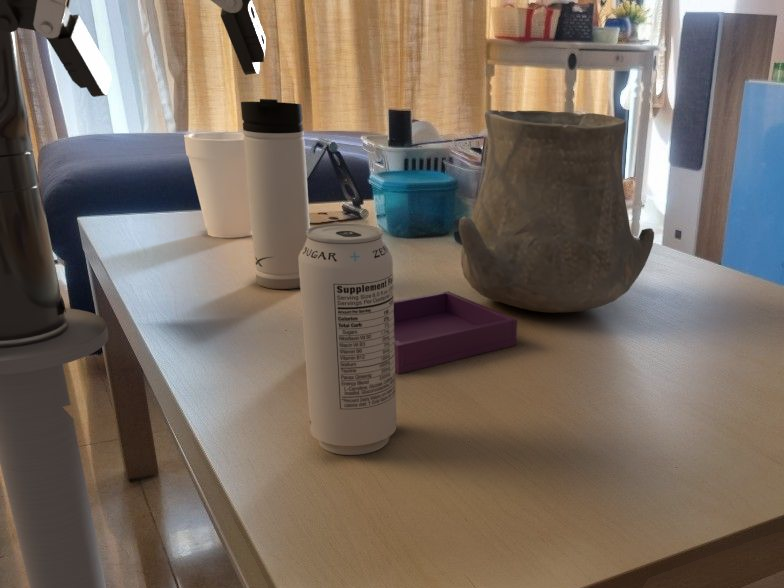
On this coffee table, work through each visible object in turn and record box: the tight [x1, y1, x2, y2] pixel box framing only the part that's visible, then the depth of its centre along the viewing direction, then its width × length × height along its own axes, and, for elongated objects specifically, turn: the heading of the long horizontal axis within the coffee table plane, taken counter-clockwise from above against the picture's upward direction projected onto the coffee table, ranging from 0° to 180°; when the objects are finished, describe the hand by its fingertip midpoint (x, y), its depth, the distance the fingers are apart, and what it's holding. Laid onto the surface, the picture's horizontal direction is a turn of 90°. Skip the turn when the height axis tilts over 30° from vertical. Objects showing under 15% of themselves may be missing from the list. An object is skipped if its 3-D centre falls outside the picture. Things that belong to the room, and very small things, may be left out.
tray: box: [394, 290, 518, 375], centre depth 79 cm, size 13×11×3 cm
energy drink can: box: [298, 223, 398, 456], centre depth 57 cm, size 6×6×15 cm
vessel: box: [458, 109, 655, 314], centre depth 90 cm, size 22×22×20 cm
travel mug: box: [240, 98, 311, 290], centre depth 92 cm, size 6×7×20 cm
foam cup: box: [183, 131, 252, 239], centre depth 114 cm, size 10×9×13 cm
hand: (178, 77), depth 47 cm, fingers open, 8 cm apart
